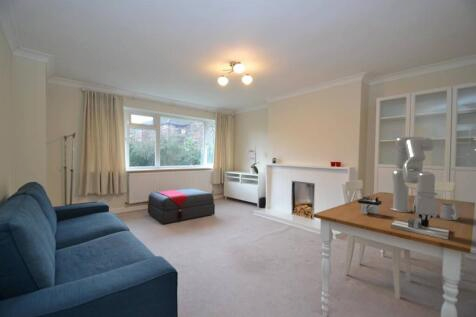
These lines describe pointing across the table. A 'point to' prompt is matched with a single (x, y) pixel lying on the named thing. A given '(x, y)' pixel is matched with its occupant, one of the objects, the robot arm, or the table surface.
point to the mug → (449, 211)
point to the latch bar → (417, 222)
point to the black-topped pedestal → (369, 205)
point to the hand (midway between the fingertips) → (424, 226)
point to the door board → (421, 228)
